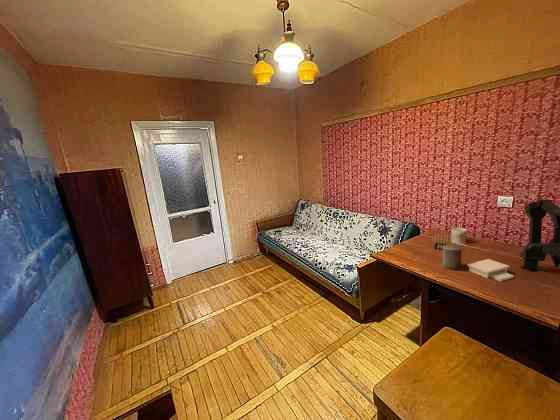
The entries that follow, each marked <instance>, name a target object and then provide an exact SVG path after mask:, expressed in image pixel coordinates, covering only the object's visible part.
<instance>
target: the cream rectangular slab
mask: <svg viewBox="0 0 560 420" xmlns="http://www.w3.org/2000/svg"><path fill="white" fill-rule="evenodd" d="M467 267H469V268H468V272H471V273H474V274H476V275H479V276H481V277H483V278H486V279H489V278H490V277H489V273H492V272H496V271H499V270H500V271H503V272H505V273H508V269H509V268H510V265H508V264H505V263H502V262H499V261H497V260H496V261H495V260H493V259H490V258H486V259H483V260H478V261H475V262H472V263H467Z"/></svg>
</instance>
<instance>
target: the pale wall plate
mask: <svg viewBox="0 0 560 420" xmlns="http://www.w3.org/2000/svg"><path fill="white" fill-rule="evenodd" d="M489 278H490V279H494V281H498V282H500V283H501V282H504V281H508V280H510V279H514V274H511V273H508V272H507V273H505V272H503V271H500V270H499V271H496V272H492V273H489Z"/></svg>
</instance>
